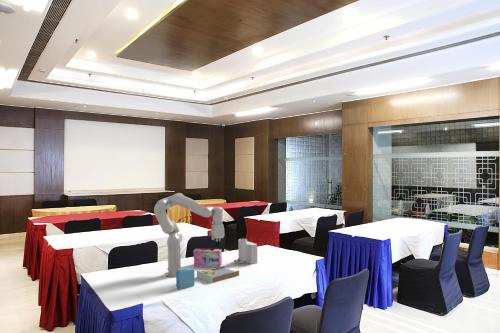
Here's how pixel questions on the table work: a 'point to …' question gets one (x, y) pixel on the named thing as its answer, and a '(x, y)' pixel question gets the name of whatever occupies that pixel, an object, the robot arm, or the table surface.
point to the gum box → (207, 257)
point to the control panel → (247, 252)
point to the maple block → (210, 272)
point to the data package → (185, 278)
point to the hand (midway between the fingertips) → (217, 246)
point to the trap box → (217, 274)
